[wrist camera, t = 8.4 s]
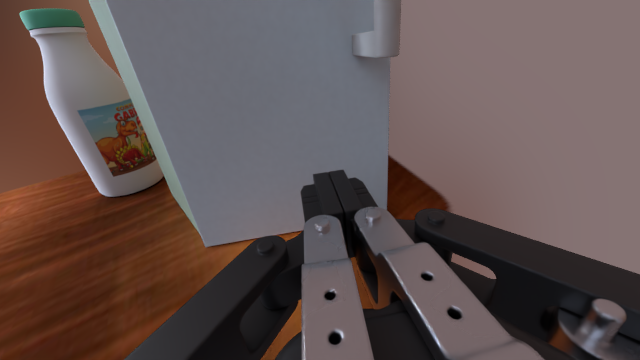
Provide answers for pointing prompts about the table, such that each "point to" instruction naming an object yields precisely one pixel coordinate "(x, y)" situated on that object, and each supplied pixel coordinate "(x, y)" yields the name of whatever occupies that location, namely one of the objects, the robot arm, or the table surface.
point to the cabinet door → (264, 101)
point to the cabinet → (139, 101)
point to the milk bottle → (92, 105)
